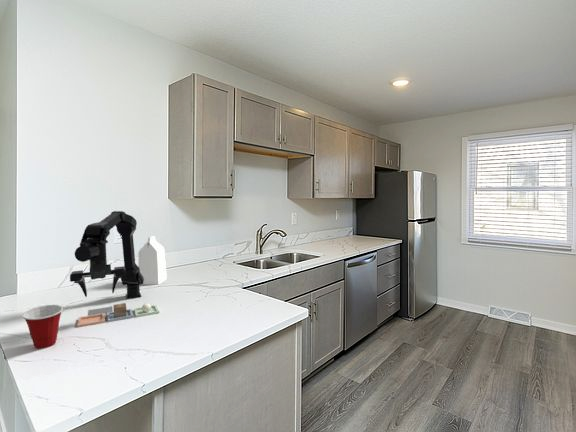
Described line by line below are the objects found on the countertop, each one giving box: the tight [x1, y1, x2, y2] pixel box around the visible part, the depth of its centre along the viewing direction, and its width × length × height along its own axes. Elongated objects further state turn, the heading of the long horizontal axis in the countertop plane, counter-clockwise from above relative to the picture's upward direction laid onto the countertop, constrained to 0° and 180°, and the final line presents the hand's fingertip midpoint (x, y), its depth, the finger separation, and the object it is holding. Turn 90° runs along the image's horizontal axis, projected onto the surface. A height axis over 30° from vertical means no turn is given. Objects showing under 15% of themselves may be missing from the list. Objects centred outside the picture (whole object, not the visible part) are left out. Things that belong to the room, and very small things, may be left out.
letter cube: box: [112, 302, 127, 318], centre depth 132 cm, size 4×4×5 cm
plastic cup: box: [22, 304, 64, 350], centre depth 107 cm, size 11×11×12 cm
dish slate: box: [106, 308, 134, 323], centre depth 132 cm, size 9×9×1 cm
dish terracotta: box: [76, 313, 106, 328], centre depth 127 cm, size 9×9×1 cm
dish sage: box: [133, 304, 160, 318], centre depth 137 cm, size 9×9×1 cm
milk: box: [137, 235, 168, 285], centre depth 185 cm, size 12×12×26 cm
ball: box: [141, 303, 152, 312], centre depth 137 cm, size 4×4×4 cm
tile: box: [87, 306, 114, 316], centre depth 137 cm, size 9×9×1 cm
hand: (99, 294), depth 128 cm, fingers open, 9 cm apart
